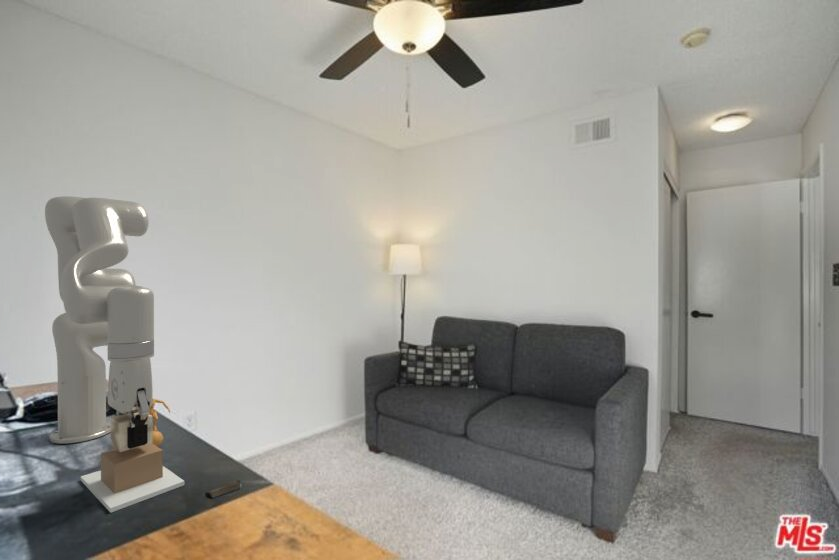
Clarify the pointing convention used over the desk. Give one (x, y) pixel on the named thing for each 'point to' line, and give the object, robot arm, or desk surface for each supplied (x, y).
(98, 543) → the desk surface
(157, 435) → the figurine
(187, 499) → the desk surface
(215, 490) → the block
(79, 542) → the desk surface
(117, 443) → the maple block
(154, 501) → the desk surface
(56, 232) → the robot arm
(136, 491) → the build board
